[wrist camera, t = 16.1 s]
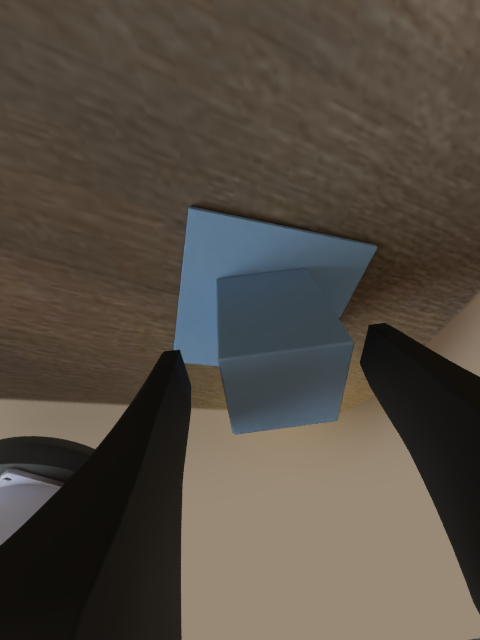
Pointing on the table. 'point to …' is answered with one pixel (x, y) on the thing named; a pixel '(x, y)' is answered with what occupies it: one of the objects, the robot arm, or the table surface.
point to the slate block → (279, 351)
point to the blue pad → (254, 269)
